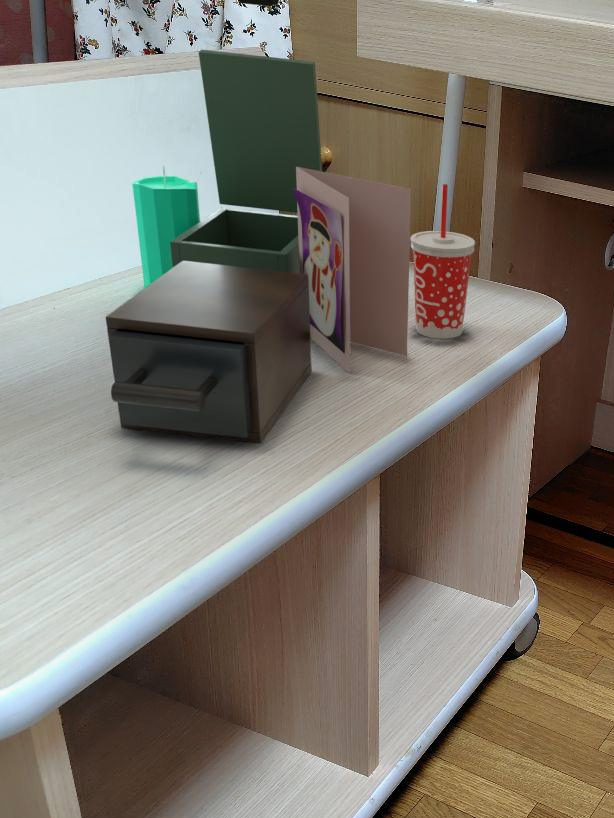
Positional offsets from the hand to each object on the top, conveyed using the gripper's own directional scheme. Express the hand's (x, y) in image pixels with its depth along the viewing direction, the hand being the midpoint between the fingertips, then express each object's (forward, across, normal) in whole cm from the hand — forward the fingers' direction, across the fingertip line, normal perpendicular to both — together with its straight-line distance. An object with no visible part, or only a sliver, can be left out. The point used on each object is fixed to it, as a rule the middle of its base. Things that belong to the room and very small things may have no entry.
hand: (258, 3), depth 87 cm
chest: (+27, +3, -1) cm, 27 cm away
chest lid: (+12, -2, -1) cm, 12 cm away
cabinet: (+27, +24, +4) cm, 36 cm away
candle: (+27, 0, -10) cm, 29 cm away
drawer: (+26, +28, +4) cm, 39 cm away
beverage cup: (+27, +3, +18) cm, 33 cm away
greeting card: (+27, +10, +11) cm, 31 cm away
